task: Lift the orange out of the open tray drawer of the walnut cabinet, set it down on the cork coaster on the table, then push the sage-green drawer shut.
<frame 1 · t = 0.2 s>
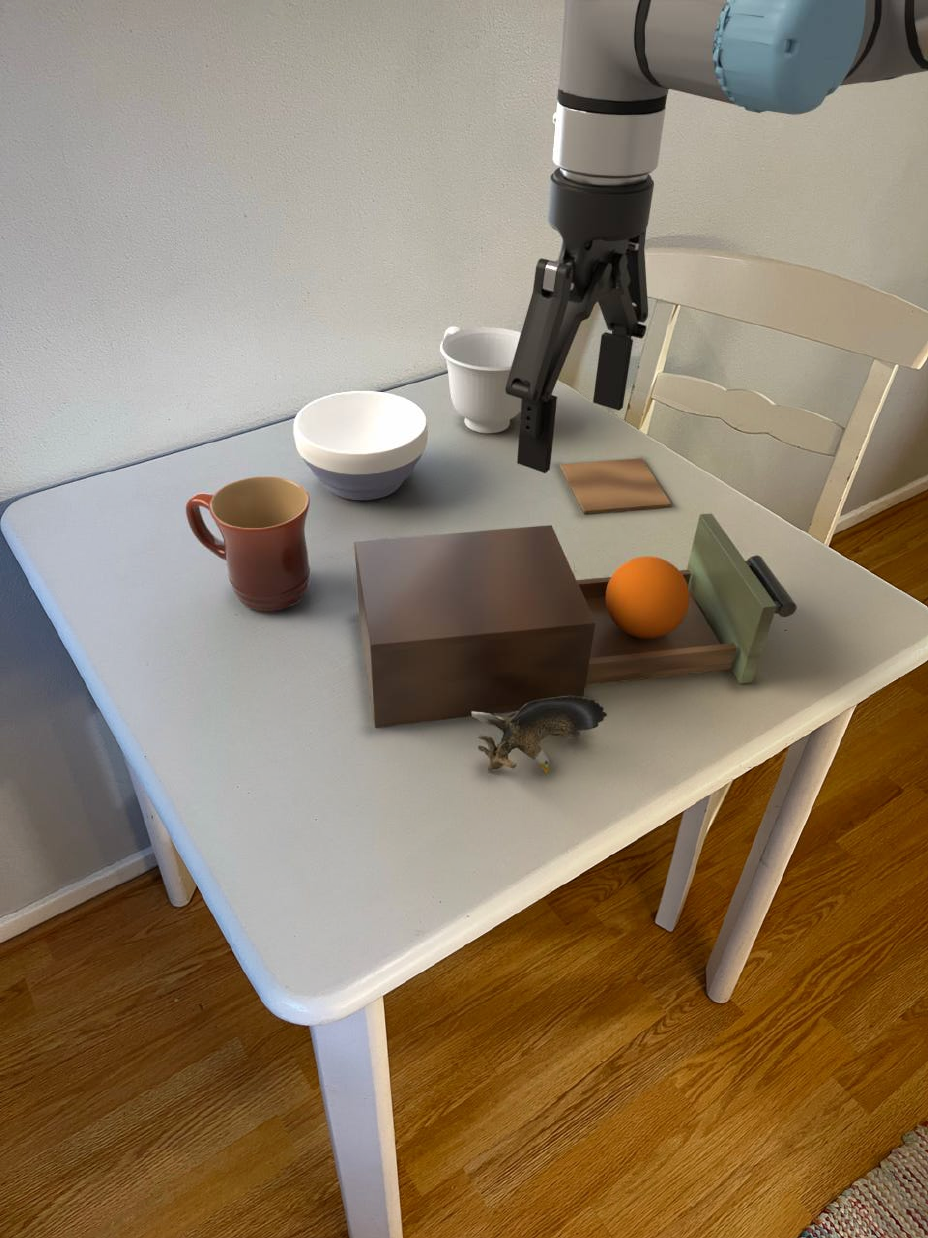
hand: (572, 434, 79), 16 cm above the table, tool pointing down, fingers open, 13 cm apart
bowl: (364, 482, 102), on the table
mug: (257, 590, 86), on the table
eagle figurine: (532, 755, 71), on the table
cabinet: (465, 660, 79), on the table
coaster: (614, 486, 102), on the table
drawer: (663, 602, 79), point 4 cm above the table, slide at 14.0 cm, touching orange
orange: (640, 628, 81), point 2 cm above the table, touching drawer
teacup: (480, 419, 114), on the table
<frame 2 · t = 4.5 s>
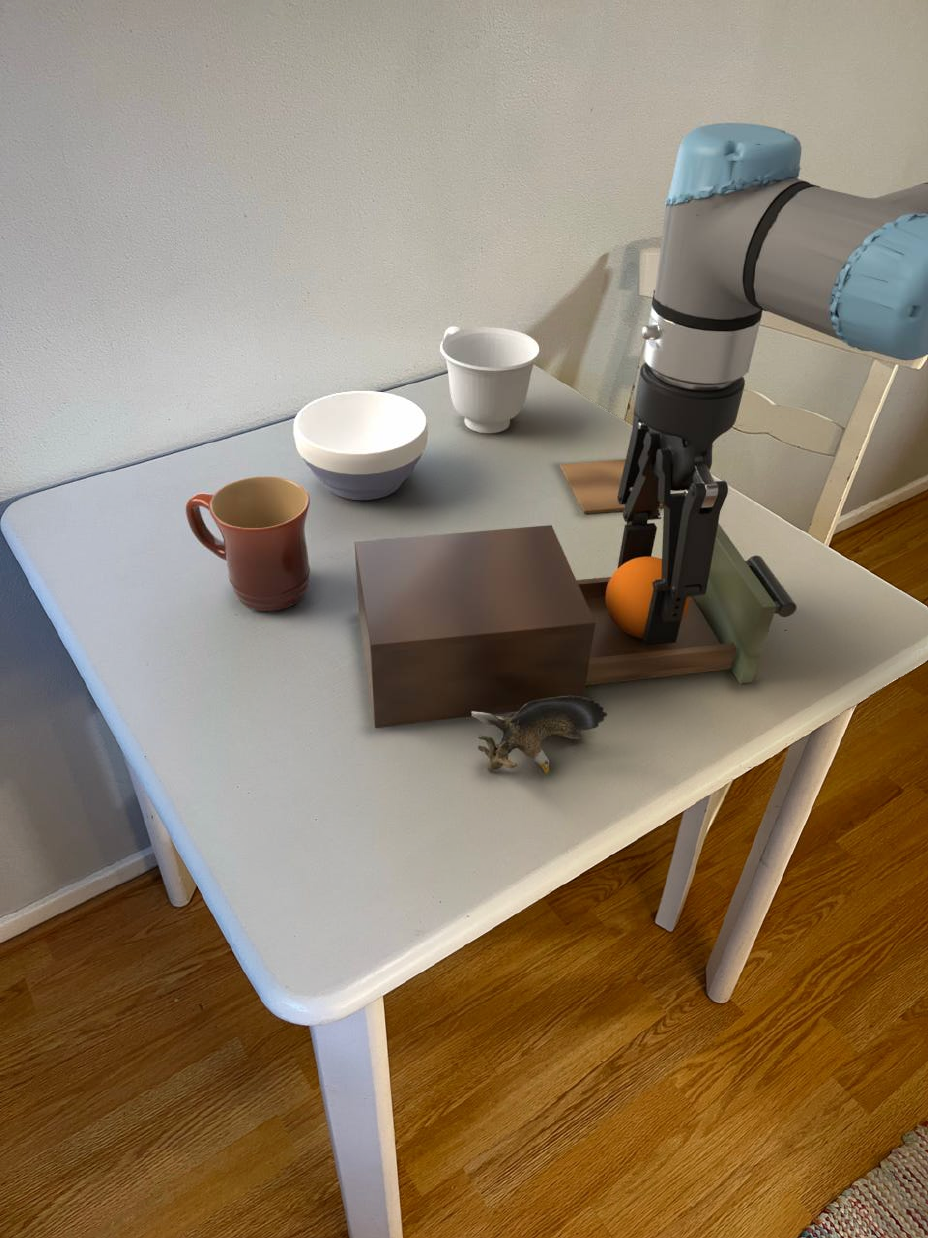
hand: (644, 611, 80), 4 cm above the table, tool pointing down, fingers closed on orange, 7 cm apart
orange: (640, 628, 81), point 2 cm above the table, touching drawer, gripper
everything else where it was.
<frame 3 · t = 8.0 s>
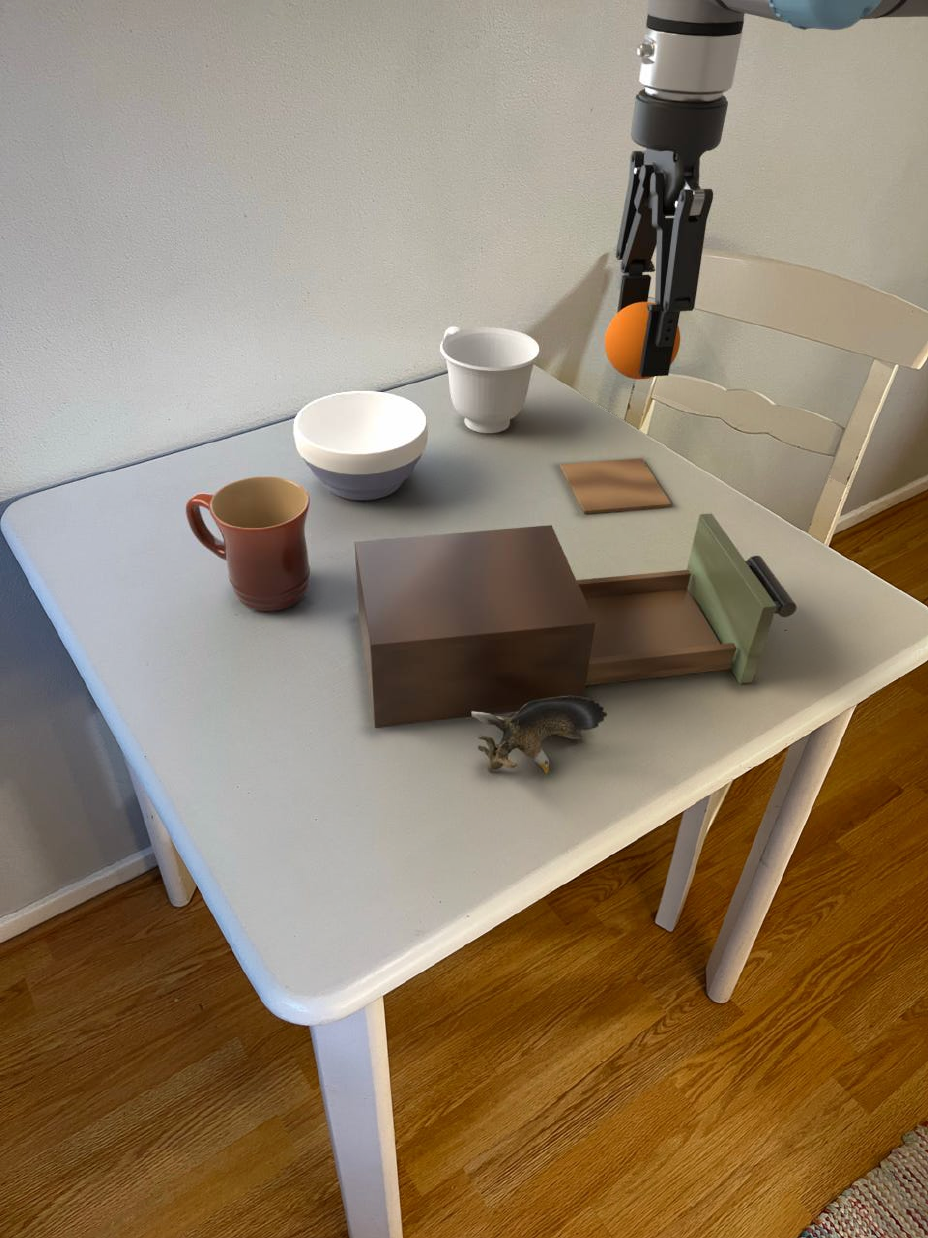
hand: (639, 356, 88), 17 cm above the table, tool pointing down, fingers closed on orange, 7 cm apart
drawer: (663, 602, 79), point 4 cm above the table, slide at 14.0 cm
orange: (636, 375, 90), point 15 cm above the table, touching gripper
everything else where it was.
when the fingers open (2 cm above the table, at t = 12.0 s): orange stays where it is, resting on coaster.
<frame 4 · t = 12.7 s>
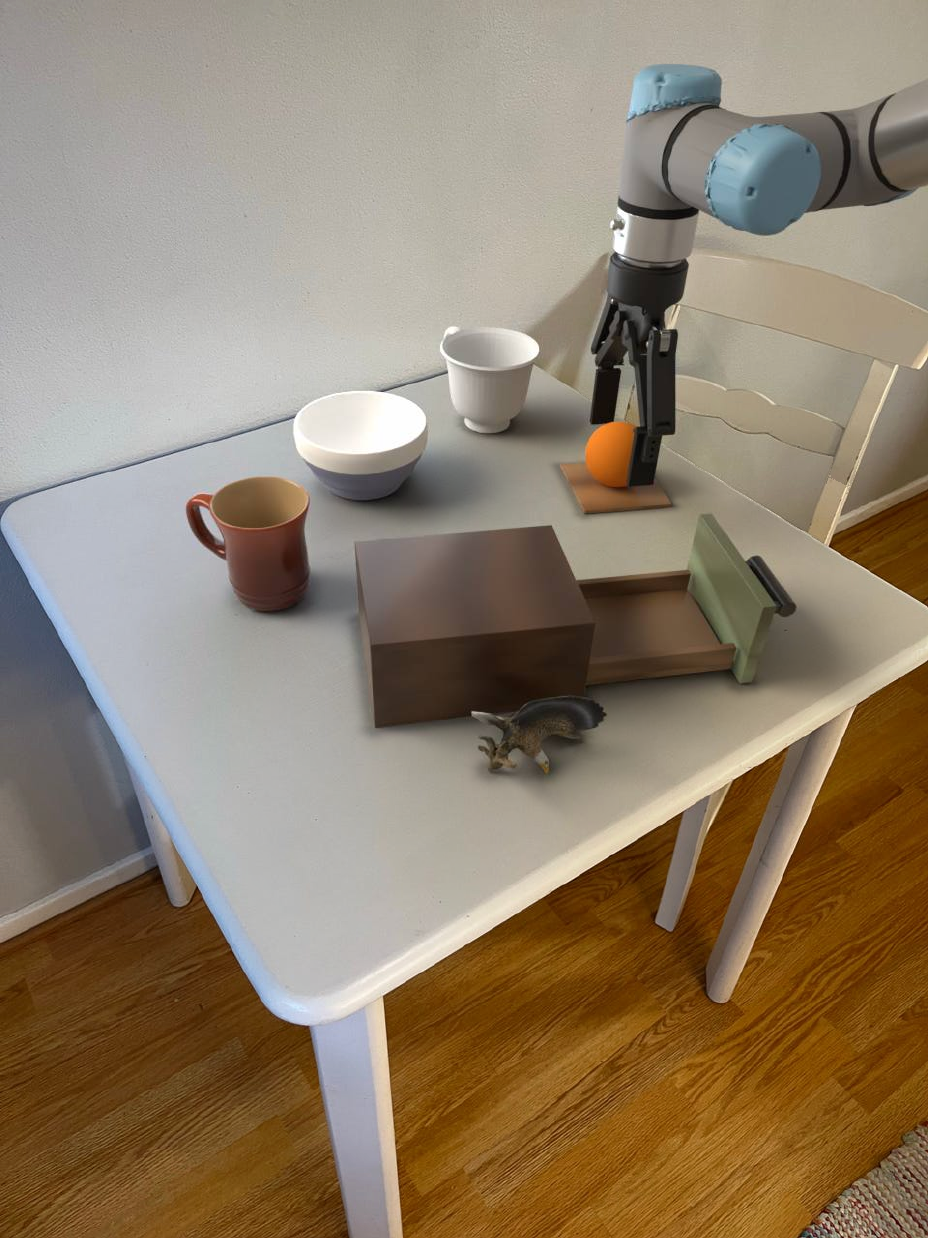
hand: (619, 452, 99), 4 cm above the table, tool pointing down, fingers open, 13 cm apart
orange: (614, 483, 102), resting on coaster
everything else where it was.
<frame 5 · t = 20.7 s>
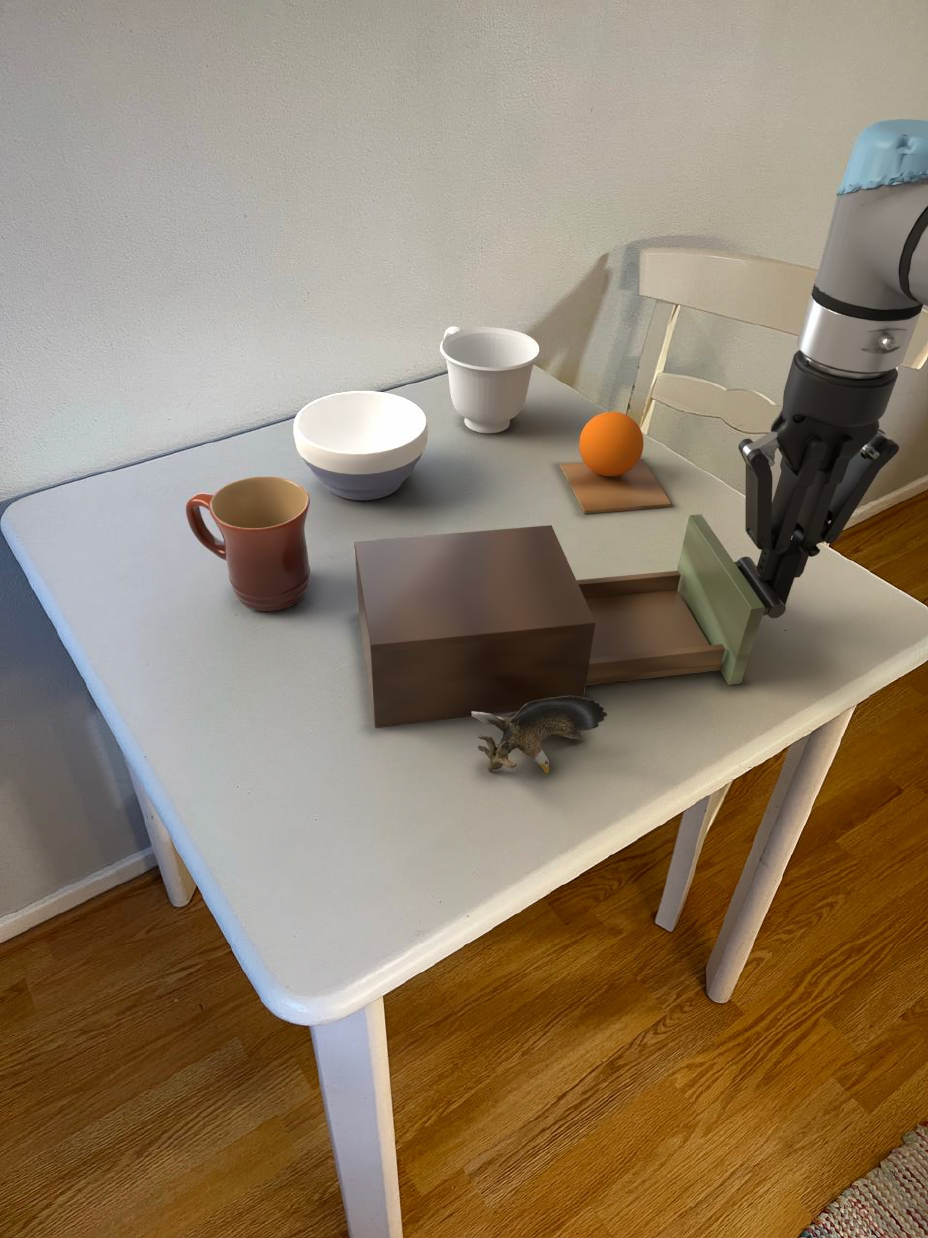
hand: (769, 603, 82), 3 cm above the table, tool pointing down, fingers closed
drawer: (652, 603, 79), point 4 cm above the table, slide at 13.0 cm, touching gripper
orange: (614, 475, 102), point 1 cm above the table, tilted 40°, touching coaster
everything else where it was.
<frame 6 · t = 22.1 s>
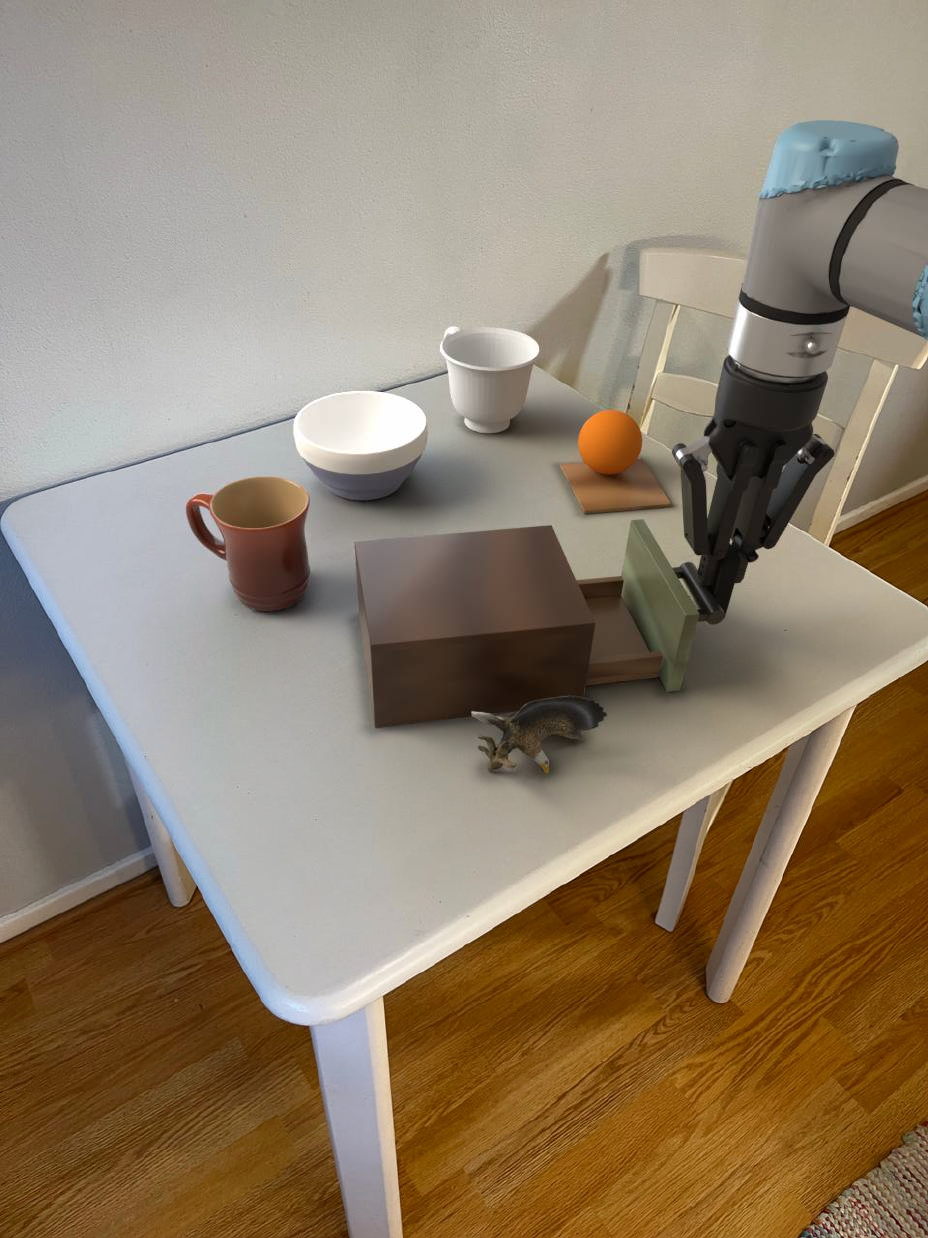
hand: (711, 609, 81), 3 cm above the table, tool pointing down, fingers closed
drawer: (591, 609, 78), point 4 cm above the table, slide at 7.4 cm, touching gripper
orange: (614, 473, 102), point 2 cm above the table, tilted 46°, touching coaster
everything else where it was.
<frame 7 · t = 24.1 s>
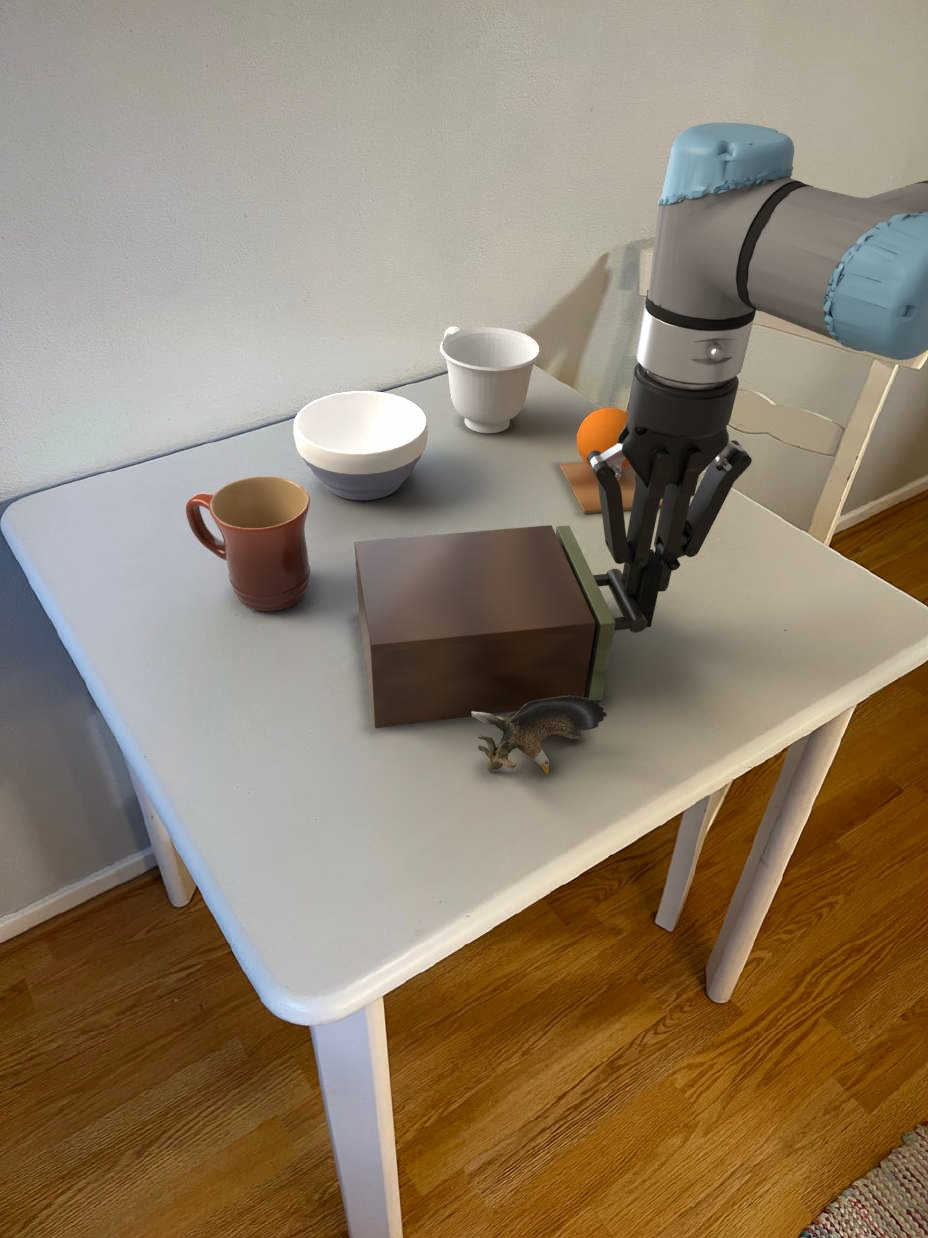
hand: (637, 617, 80), 3 cm above the table, tool pointing down, fingers closed
drawer: (513, 617, 77), point 4 cm above the table, slide at 0.4 cm, touching gripper
orange: (614, 468, 101), point 2 cm above the table, tilted 56°, touching coaster
everything else where it was.
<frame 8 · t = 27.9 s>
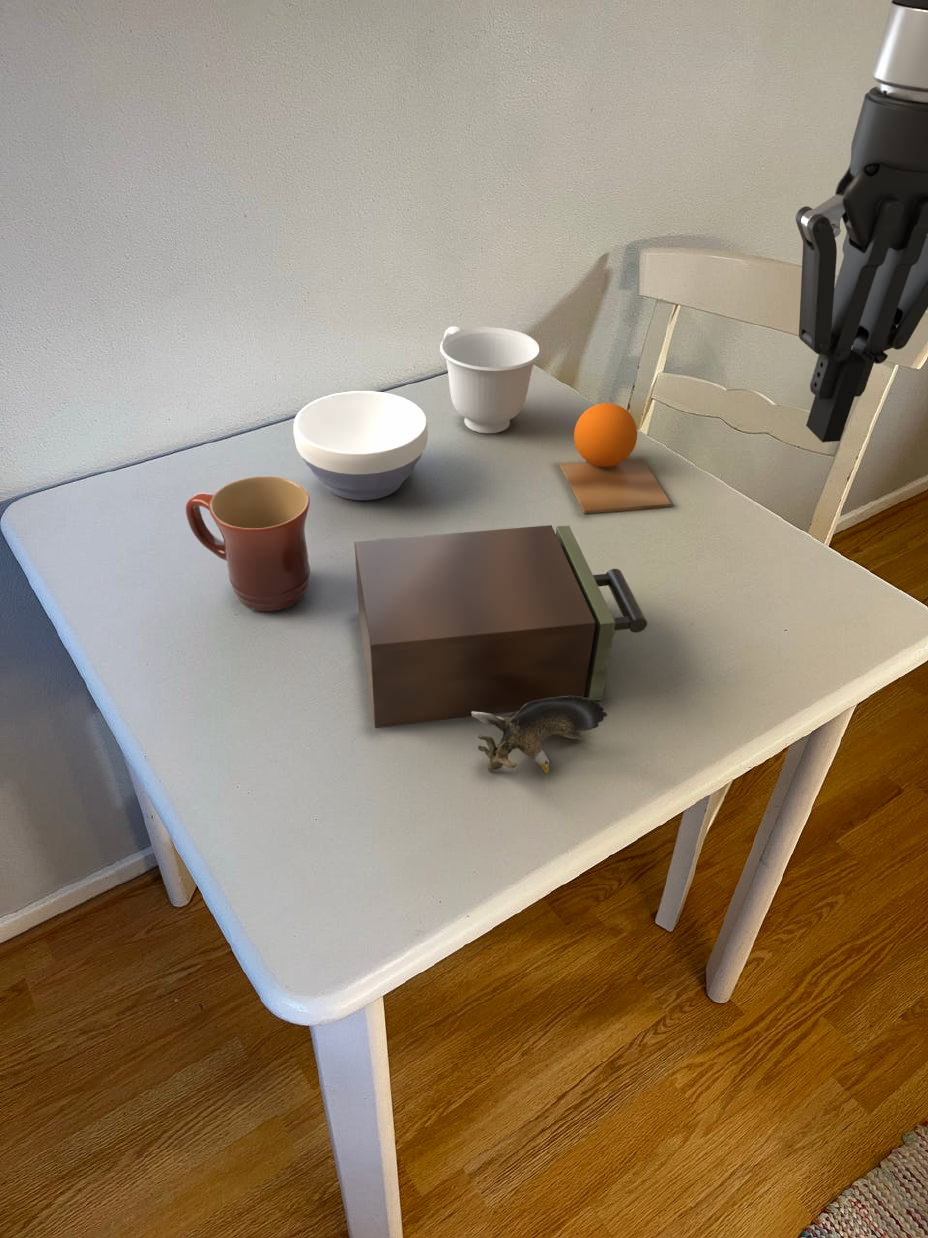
hand: (822, 432, 71), 20 cm above the table, tool pointing down, fingers closed
drawer: (513, 617, 77), point 4 cm above the table, slide at 0.4 cm
orange: (613, 458, 101), point 3 cm above the table, tilted 73°, touching coaster
everything else where it was.
at the end: orange 1.2 cm from the coaster (horizontally); the gripper is holding nothing; drawer slide at 0.4 cm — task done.
